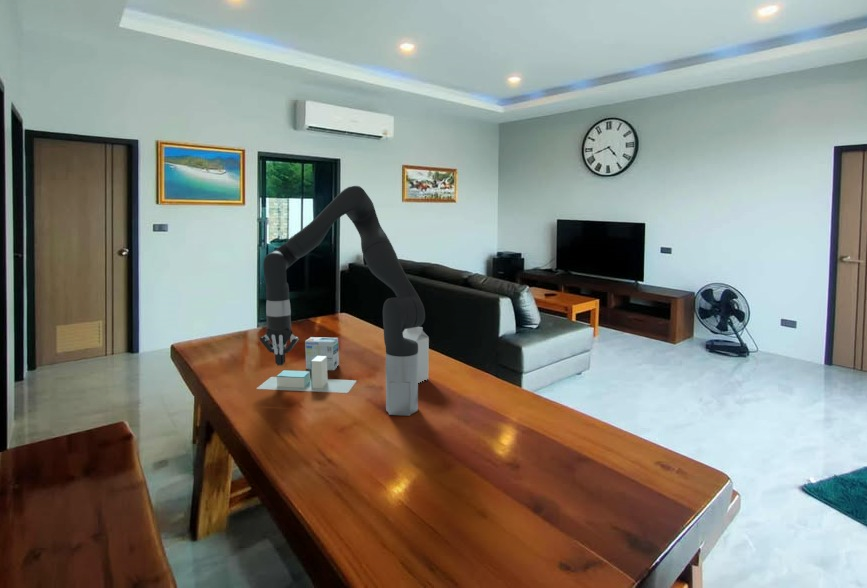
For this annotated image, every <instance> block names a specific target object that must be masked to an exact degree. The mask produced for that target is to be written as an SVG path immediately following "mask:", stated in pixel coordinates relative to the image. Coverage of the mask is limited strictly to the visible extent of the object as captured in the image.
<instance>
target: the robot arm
mask: <svg viewBox="0 0 867 588" xmlns="http://www.w3.org/2000/svg"><path fill="white" fill-rule="evenodd" d="M344 215H346V216H347V217H348V218H349V220H350V221H351V222H352V223H353V225H354V227H355V229H356V230H357V232H358V234H359V237H360V247H361V248H360V249H361V253H362V256H363V258H364V260H365V263H366V266H367V268H368V269H369V271H370V272H371V274H372V275H374V276H375V277H376V278H377V279H378V280H380V281H381V282H382V283H384V284H385V285H386V286H387V287H389V288H390V289H391V290H392V291H393V293H394V294H395V296H396V297H395V296H394V297H389V298H387V299H386V300H385V301H384V303H383V305H382V306H383V307H382V324H383V340H384V341H383V342H384V346H385V411H386V412H387V413H388V415H389V416H406V417H408V416H409V417H410V416H411V415H413V414H415V413H416V412H418V410H419V384H418V343H417V342H416V341H414V340H411V339H407V338H404V337H403V330H405V329H409V328H415V327H422V325H423V324H424V323H425V320H426V312H425V306H424V304H423V302H422V300H421V298H420V296H419V294H418V292H417V291H416V289H415V287H414V286H413V285H412V283H411V282H410V280H409V278H408V276H407V274H406V272H405V271H404V268H403V266H402V265H401V263H400V260H399V258H398V255H397V253H396V251H395V248H394V247H393V245H392V243H391V241H390V238H389V237H388V235H387V234H386V232H385V230H384V229H383V228H382V226H381V224H380V220H379V219H378V215H377V213H376V209H375V206H374V203H373V201H372V199H371V198H370V196H369V195H368V193H367V192H366V191H365V189H364V188H362V187H361V186H359V185H356V184H354V185H353V184H352V185H350V186H347V187H346V188H344V189H343V190H342V191H340V193H338V195H336V196H335V197H334V199H332V200H331V202H330V203H328V205H326V207H324V208H323V210H322V211H321V212H320V213H319V214H317V216H316V217H315V218H314V219H313V220H312V221H311V222H309V223H308V224H307V225H306V226H304V227H303V228H302V229H300V230H299V231H298V232H297V233H295V234H294V235H292V236H291V237H290V238H288V239H287V241H286V242H285V243H284V244H282V245H280V246H279V247H277V248H276V249H275V250H273V251H272V252H270V253H268V254H267V255H265V257H264V258H263V263H262V264H263V267H262V270H263V274H264V275H263V276H264V280H265V286H266V289H265V292H266V293H265V295H266V297H265V298H266V305H265V308H266V309H265V310H266V312H265V313H266V331H265V334H264V335H263V336H261V337H259V340H260V342H261V343H262V344H263V346H264V347H265V349H267V351H268V352H269V353H272V354H274V356H275V357H274V360H275V362H274V363H275V364H276V365H277V366H280V367H281V366H283V365H284V364H285V363H286V354H288V353H289V352H291V351H292V349H293V348H294V347H295V345H296V344H297V343H298V342H299V340H300V337H299V336H295V335H294V334H293V330H292V319H291V318H292V317H291V313H292V309H291V302H290V287H289V283H288V282H287V270H288V269H289V268H290V267H291V266H292V265H293V264H294V263H296V262H297V261H298V260H299V259H300V258H303V257H305V256H307V254H309V253H310V252H312V251H313V250H314V249H315V248H317V247H318V246H319V245H320V244H321V243H322V242H323V240H324V239H325V237H326V236H327V234H328V232H329V230H330V229H331V228H332V226H333V225H334V224H335V222H336V221H337V220H339V219H340V218H342V217H343V216H344ZM289 340H290V341H289ZM288 342H290V343H289V344H288V346H287V343H288Z"/></svg>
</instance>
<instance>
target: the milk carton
mask: <svg viewBox="0 0 867 588" xmlns="http://www.w3.org/2000/svg"><path fill="white" fill-rule="evenodd" d="M423 329H424V328H423V327H422V326H419V327H415V328H409V329H403V330H402V332H403V337H404V338H407V339H411V340H414V341H416V342H417V343H418V383H419V384H420V382H421V383H423V382H425V381H424V380H426V381H428V380H429V364H430V363H429V354H430V352H429V351H430V350H429V349H430V348H429V347H430V346H429V345H430V344H429V343H430V339H429V338H430V337H429V336H428V335H427V334H426V332H425V331H424V330H423ZM427 379H428V380H427ZM422 381H423V382H422Z"/></svg>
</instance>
